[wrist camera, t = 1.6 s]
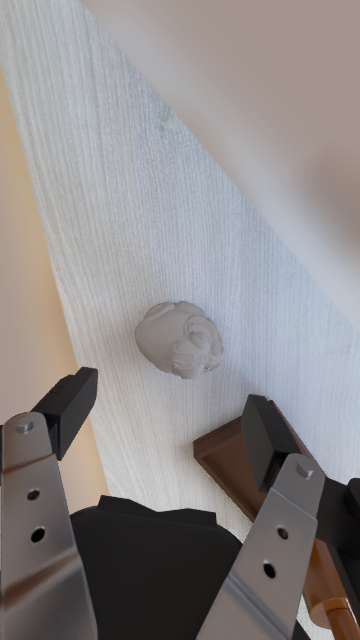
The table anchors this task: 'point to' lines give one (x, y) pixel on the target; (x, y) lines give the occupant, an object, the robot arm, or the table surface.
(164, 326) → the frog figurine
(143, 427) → the table surface
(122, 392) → the table surface
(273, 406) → the tray
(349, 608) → the amber bottle
